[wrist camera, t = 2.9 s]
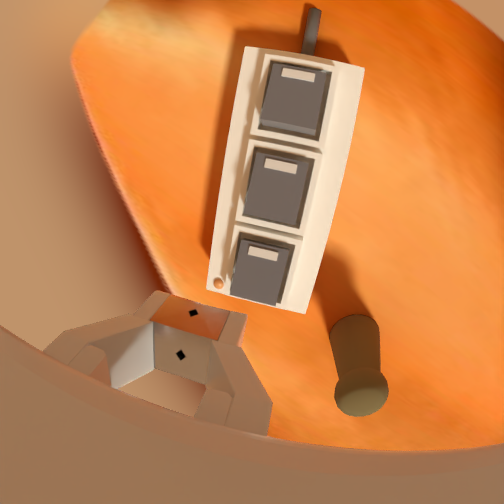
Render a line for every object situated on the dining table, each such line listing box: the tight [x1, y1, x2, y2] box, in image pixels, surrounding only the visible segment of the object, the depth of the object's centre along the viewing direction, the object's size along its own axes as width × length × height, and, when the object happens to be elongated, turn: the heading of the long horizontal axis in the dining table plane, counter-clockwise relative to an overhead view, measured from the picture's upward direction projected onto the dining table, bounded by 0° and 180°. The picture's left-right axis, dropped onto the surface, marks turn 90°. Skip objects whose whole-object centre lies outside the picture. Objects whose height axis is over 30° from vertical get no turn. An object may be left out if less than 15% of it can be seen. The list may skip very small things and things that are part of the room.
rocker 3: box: [230, 238, 289, 306], centre depth 26 cm, size 4×5×2 cm
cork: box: [330, 315, 389, 417], centre depth 29 cm, size 6×6×11 cm
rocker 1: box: [260, 63, 327, 136], centre depth 20 cm, size 4×5×2 cm
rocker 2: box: [243, 152, 309, 225], centre depth 23 cm, size 4×5×2 cm
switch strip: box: [206, 8, 365, 314], centre depth 25 cm, size 10×29×6 cm, turn 170°
